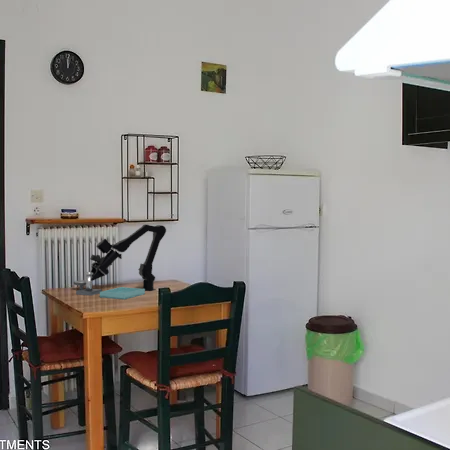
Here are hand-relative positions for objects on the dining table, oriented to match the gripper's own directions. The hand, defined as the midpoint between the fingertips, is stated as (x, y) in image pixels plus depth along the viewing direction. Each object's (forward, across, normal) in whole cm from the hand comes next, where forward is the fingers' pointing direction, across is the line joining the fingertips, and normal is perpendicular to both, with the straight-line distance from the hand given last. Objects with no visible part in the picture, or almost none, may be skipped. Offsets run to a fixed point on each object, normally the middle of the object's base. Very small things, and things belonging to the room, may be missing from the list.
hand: (89, 279), depth 321 cm
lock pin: (+6, 0, +6) cm, 8 cm away
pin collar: (+6, 0, +6) cm, 8 cm away
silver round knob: (+6, -16, +5) cm, 18 cm away
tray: (-5, +15, +16) cm, 22 cm away
